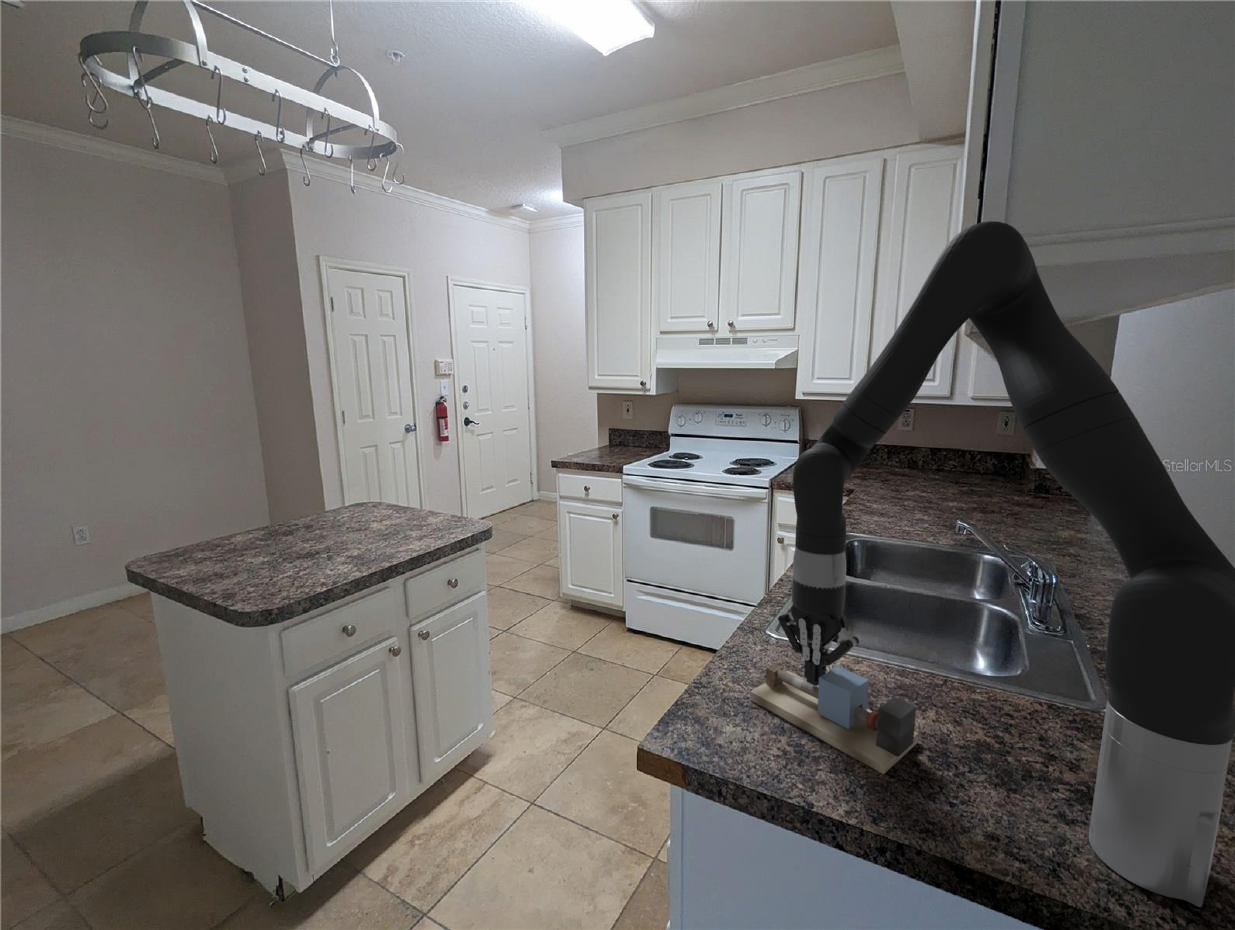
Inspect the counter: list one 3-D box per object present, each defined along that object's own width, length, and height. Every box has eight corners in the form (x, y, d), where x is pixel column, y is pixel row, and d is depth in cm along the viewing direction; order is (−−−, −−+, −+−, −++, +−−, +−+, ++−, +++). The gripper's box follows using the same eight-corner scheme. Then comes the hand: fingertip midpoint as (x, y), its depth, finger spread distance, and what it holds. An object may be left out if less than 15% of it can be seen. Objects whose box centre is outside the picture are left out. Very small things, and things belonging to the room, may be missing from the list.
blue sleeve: (866, 715, 82) (868, 679, 81) (848, 729, 79) (850, 692, 78) (835, 700, 86) (837, 666, 85) (817, 713, 83) (819, 677, 82)
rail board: (921, 744, 78) (925, 698, 77) (887, 776, 72) (890, 727, 71) (786, 678, 96) (788, 640, 95) (750, 699, 90) (751, 659, 89)
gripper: (874, 582, 80) (867, 692, 83) (795, 560, 90) (792, 658, 93) (846, 596, 75) (841, 711, 78) (767, 570, 86) (764, 673, 89)
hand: (814, 682), depth 86 cm, fingers closed
